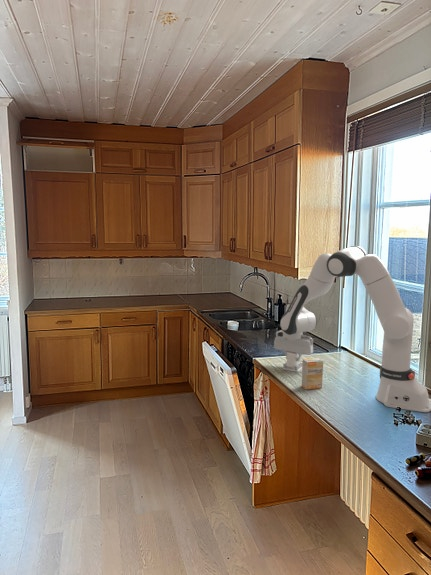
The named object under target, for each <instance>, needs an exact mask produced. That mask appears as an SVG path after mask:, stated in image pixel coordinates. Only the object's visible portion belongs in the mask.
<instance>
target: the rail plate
mask: <svg viewBox="0 0 431 575" xmlns="http://www.w3.org/2000/svg"><path fill="white" fill-rule="evenodd" d="M282 365H283V367H282V370H286V371H291V372H295V373H299V372H300V371H302V362H299V364H298V365H297V366H295V367H289V366H287V361H286V362H284V363H283V364H282Z"/></svg>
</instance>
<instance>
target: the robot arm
mask: <svg viewBox="0 0 431 575" xmlns="http://www.w3.org/2000/svg"><path fill="white" fill-rule="evenodd" d="M310 271H311V272H310V273H309V275H308V277H307V279H306V280H305V282H304V283H303V284H302V285H301V286H300V287H298V289H297V291H296V292H295V295H294V296H293V298H292V299H291V300H292V301H291V302H290V303H287V305H286V307H285V312H284V314H283V315H282V316H281V319H280V320H279V326H280V328H281V330H280V329H279V330H278V331H276V332H275V337H274V342H273V347H274V349H275V350H276V351H284V352H283V353H284V356H285V359H286V360H287V353H288V352H294V353H298V355H299V357H297V358H296V361H298V362H299V363H300V362H301V357H302V356H303V355H306V356H311V355H312V354H313V353H314V345H313V344H314V338H312V337H311V336H310V335H305V334H303V333H306V332H310V331H313V330H315V329H316V327H317V324H318V318H317V316H316V315H315V313H313V312H312V311H309V310H308V309H307V308H306V307H305V305H307V303H308V302H310V301H311V300H313V299H317V298H319V297H321V296H324V295H326V294H327V293H328V292H329V291H330V290H331V288H332V286H333V285H334V282H335V279H336V277H337V278H341V277H342V278H343V277H352V276H354V275H356V276H358V277H359V278H360V280H361V282H362V284H363V286H364V289H365V290H366V292H367V294H368V296H369V298H370V301H372V304H373V306H374V310H375V313H376V315H377V317H378V320H379V323H380V325H381V328H382V329H383V331H384V334H383V343H382V348H381V349H382V352H381V354H382V355H381V364H380V367H379V368H380V369H379V384H378V388H377V392H376V393H375V394H376V395H375V399H376V400H377V401H379V402H380V403H382V404H383V405H384V406H385V407H387V408H394V409H398V408H397V407H400V408H401V409H400V410H406V411H413V412H419V413H430V412H431V398H429V392H428V389H427V388H426V387H425V386H424V385H423V384H422V383H421V382H419V381H418V380H417V378H415V375H416V370H415V369H414V370H413V369H412V368H411V359H412V358H411V357H412V356H411V355H412V347H413V345H412V344H413V333H414V324H415V323H414V322H415V321H414V319H415V318H414V315H413V313H412V311H411V310H410V309H408V308H407V307H406V306H405V305H404V301H403V300H402V298H401V295H400V292H399V290H398V288H397V286H396V284H395V282H394V280H393V278H392V276H391V274H390V272H389V270H388V268H387V267H386V266H385V264H384V262H383V261H382V260H381V258H380V257H379V256H377V255H376V254H372V253H371V254H368V253H367V252H366V250H365V249H364V248H363V247H362V246H360V245H359V246H358V245H352V246H351V245H350V246H349V247H346V248H341V249H339V250H338V251H336V252H333V253H332V254H331V253H327V252H325V253H321V254H320V255H319V256H318V257H317V258H316V260H315V261H314V264H313V266H312V268H311V270H310Z"/></svg>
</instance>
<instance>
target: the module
mask: <svg viewBox="0 0 431 575" xmlns="http://www.w3.org/2000/svg"><path fill="white" fill-rule="evenodd" d="M297 357H299V355H298V353H294V352H289V351H288V353H287V359H286V362H287V366H289V367H295V366H297V365H298V364H300V361H299V362H298V361H296V358H297Z"/></svg>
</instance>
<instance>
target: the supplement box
mask: <svg viewBox="0 0 431 575" xmlns="http://www.w3.org/2000/svg"><path fill="white" fill-rule="evenodd" d="M301 363H302V369H301V387H302V388H303V389H304V388H305V389H304V390H315V389H323V376H324V373H323V372H324V360H323V359H321V358H319V357H315V358H302V361H301Z"/></svg>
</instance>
